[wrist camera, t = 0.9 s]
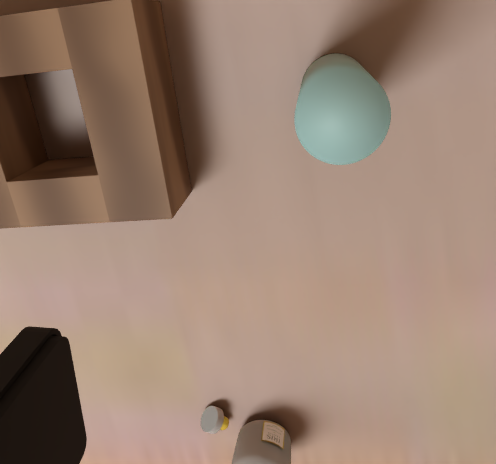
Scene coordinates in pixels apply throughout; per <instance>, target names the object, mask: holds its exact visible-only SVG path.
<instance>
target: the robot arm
mask: <svg viewBox="0 0 496 464" xmlns="http://www.w3.org/2000/svg"><path fill="white" fill-rule="evenodd" d="M85 447H86V431H85V426H84V421H83V415H82V410H81V404H80V399H79V393H78V388H77V382H76V377H75V371H74V366H73V361H72V355H71V350H70V344H69V341H68V339H67V338H66V337H62V336H61V333H60V331H59V330H58V329H55V328H42V327H26V328H24V329H23V330H22V331H21V332H20V333H19V334H18V335H17V336H16V338H15V339H14V340H13V341H12V342H11V343H10V344H9V345H8V346H7V348H6V349H5V350H4V351H3V352H2V353H1V354H0V464H79V463H80V461H81V459H82V457H83V454H84V451H85Z"/></svg>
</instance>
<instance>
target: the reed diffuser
mask: <svg viewBox="0 0 496 464" xmlns="http://www.w3.org/2000/svg"><path fill="white" fill-rule="evenodd" d="M228 424H229V420H228V418H227V417H225V416H224V414H223V411H222V409H220V408H218V407H215V406H209V407H207V408H206V409H205V410H204V412H203V414H202V417H201V427H202V429H203V431H205V432H208V433H211V434H215V433H217V432H218V431H219V430H225V429H226V428H227V427H228ZM232 464H291V438H290V436H289V434H288V432H287V431H286V430H285V429H284V428H283V427H282V426H281V425H279V424H277V423H275V422H272V421H268V420H255V421H251V422H249V423H247V424H245V425H244V426H243V427H242V428H241V430H240V432H239V435H238V439H237V443H236V447H235V451H234V455H233V460H232Z"/></svg>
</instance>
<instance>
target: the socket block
mask: <svg viewBox="0 0 496 464" xmlns="http://www.w3.org/2000/svg"><path fill="white" fill-rule="evenodd" d="M66 69H72V70H73V74H74V78H75V82H76V86H77V90H78V94H79V99H80V103H81V107H82V111H83V115H84V119H85V123H86V127H87V131H88V135H89V139H90V143H91V148H92V152H93V156H94V157H82V158H69V159H57V160H48V158H47V154H46V151H45V147H44V144H43V140H42V137H41V133H40V129H39V126H38V122H37V119H36V115H35V112H34V108H33V105H32V101H31V98H30V94H29V91H28V87H27V84H26V80H25V77H24V74H31V73H40V72H49V71H58V70H66ZM191 192H192V190H191V184H190V178H189V172H188V166H187V160H186V154H185V148H184V142H183V136H182V130H181V124H180V118H179V112H178V106H177V100H176V94H175V88H174V82H173V76H172V70H171V64H170V58H169V52H168V46H167V40H166V34H165V28H164V22H163V16H162V10H161V4H160V1H154V0H111V1H104V2H96V3H89V4H82V5H75V6H68V7H60V8H53V9H46V10H39V11H31V12H24V13H17V14H10V15H2V16H0V228H16V227H34V226H51V225H68V224H86V223H103V222H121V221H138V220H156V219H172V218H173V217H174V215H175V214H176V213H177V211H178V210H179V208H180V207H181V206H182V204H183V203H184V201H185V200H186V199H187V197H188V196H189V195H190V193H191Z"/></svg>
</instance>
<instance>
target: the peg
mask: <svg viewBox="0 0 496 464" xmlns="http://www.w3.org/2000/svg"><path fill="white" fill-rule="evenodd" d="M390 120H391V108H390V103H389V100H388V97H387V95H386V93H385V91H384V89H383V88H382V87H381V85H380V84H379V83H378V82H377V81H376V80H375V79H374V78H373V77H372V76H371V75H370V74H369V73H368V72H367V71H366V70H365V69H364V68H363V67H362V66H361V65H360V64H359V63H358V62H357V61H356V60H355V59H354V58H352V57H350V56H348V55H345V54H339V53H333V54H328V55H324V56H322V57H320V58H318V59H317V60H315V61H314V62H313V63H312V64H311V65H310V66H309V68H308V69H307V70H306V72H305V74H304V77H303V80H302V84H301V88H300V92H299V97H298V101H297V105H296V110H295V129H296V133H297V136H298V138H299V141H300V142H301V144H302V146H303V147H304V148H305V149H306V150H307V151H308V152H309V153H310V154H311V155H312V156H314V157H315V158H317V159H318V160H320V161H323V162H325V163H329V164H335V165H345V164H351V163H355V162H358V161H360V160H362V159H364V158H366V157H367V156H369V155H370V154H372V153H373V152H374V151H375V150H376V149H377V148H378V147H379V146H380V144H381V143H382V142H383V140H384V138H385V136H386V134H387V132H388V129H389V125H390Z"/></svg>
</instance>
